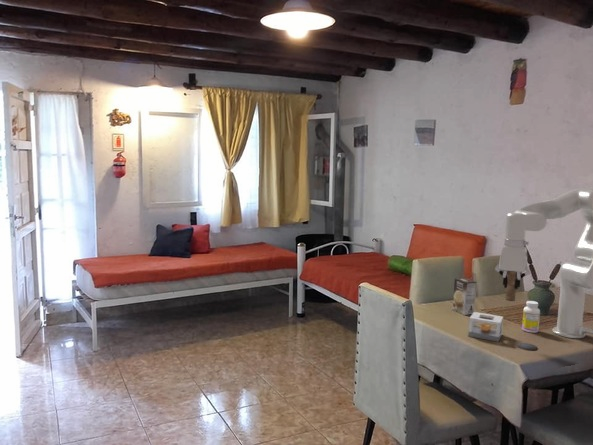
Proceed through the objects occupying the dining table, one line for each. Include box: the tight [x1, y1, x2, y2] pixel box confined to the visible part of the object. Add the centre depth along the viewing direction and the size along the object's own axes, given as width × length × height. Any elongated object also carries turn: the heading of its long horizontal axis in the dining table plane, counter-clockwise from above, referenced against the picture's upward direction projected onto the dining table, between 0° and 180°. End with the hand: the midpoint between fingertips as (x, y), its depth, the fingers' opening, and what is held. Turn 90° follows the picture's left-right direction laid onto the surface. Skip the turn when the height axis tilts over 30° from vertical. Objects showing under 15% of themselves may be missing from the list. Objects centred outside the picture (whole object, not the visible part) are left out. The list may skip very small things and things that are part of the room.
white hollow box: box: [467, 311, 504, 342], centre depth 220 cm, size 12×10×8 cm
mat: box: [517, 342, 538, 351], centre depth 208 cm, size 7×7×1 cm
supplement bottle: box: [521, 300, 541, 334], centre depth 228 cm, size 7×7×13 cm
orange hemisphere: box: [480, 323, 492, 332], centre depth 220 cm, size 4×4×2 cm
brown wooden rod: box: [505, 271, 517, 302], centre depth 211 cm, size 4×4×14 cm
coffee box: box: [452, 277, 477, 316], centre depth 253 cm, size 9×6×16 cm
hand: (511, 287), depth 212 cm, fingers closed on brown wooden rod, 3 cm apart
